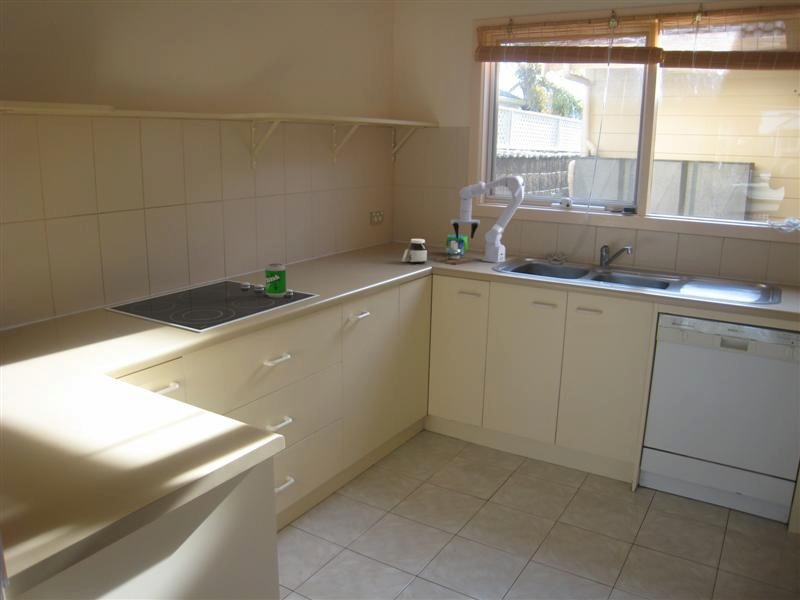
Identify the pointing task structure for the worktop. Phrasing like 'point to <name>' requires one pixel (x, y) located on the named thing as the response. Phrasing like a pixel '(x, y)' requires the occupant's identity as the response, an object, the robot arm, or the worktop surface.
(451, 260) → the base plate
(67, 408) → the worktop surface
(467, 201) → the robot arm
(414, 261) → the spread jar
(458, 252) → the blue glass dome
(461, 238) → the snack cup
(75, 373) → the worktop surface
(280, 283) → the soda can
